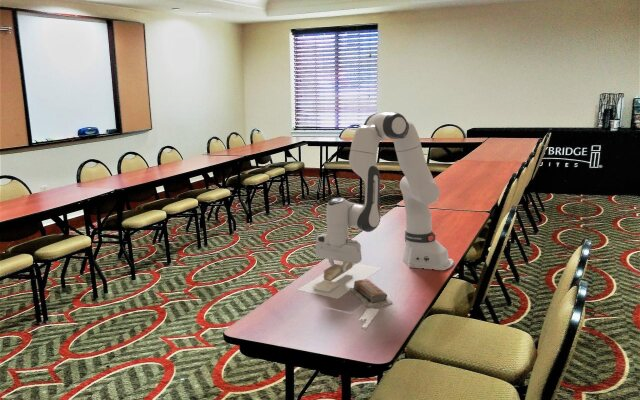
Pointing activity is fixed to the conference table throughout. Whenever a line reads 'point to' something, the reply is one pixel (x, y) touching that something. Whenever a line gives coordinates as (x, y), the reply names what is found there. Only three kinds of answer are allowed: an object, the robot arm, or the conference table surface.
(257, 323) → the conference table surface
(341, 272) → the long tan strip
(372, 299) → the packaged product
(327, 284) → the tile
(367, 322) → the white notched flat strip
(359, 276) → the mat
